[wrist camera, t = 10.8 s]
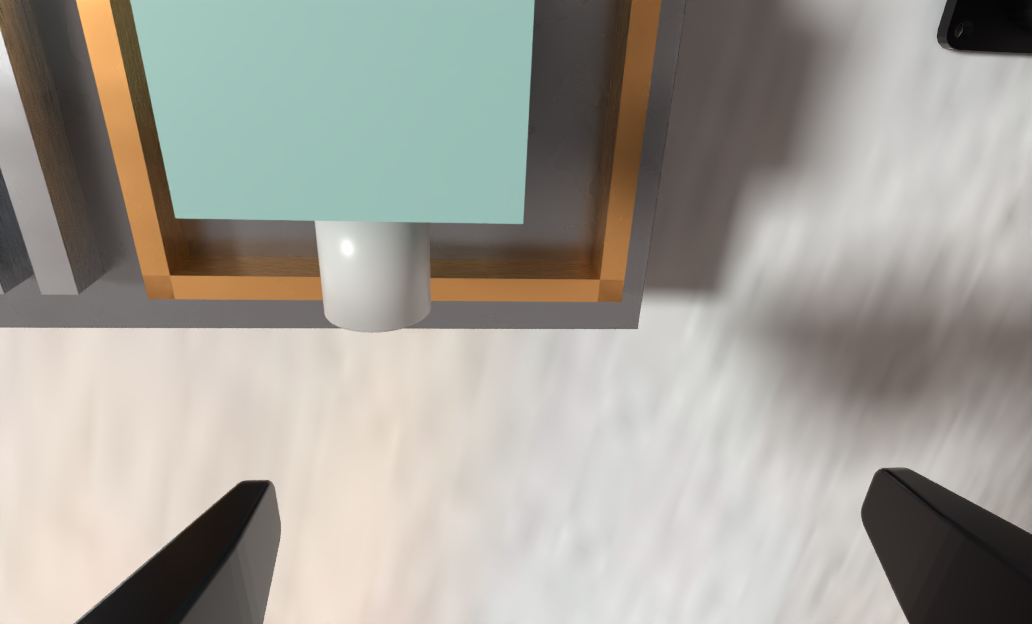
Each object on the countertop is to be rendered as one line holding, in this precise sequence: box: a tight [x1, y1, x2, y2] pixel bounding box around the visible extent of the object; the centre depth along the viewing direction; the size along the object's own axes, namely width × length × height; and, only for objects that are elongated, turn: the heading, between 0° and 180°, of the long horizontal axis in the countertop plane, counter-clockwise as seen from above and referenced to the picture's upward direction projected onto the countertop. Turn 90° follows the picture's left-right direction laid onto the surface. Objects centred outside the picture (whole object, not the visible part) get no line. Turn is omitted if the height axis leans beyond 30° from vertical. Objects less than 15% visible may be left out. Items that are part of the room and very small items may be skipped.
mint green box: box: [130, 0, 535, 332], centre depth 11 cm, size 5×7×6 cm
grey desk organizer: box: [0, 0, 686, 329], centre depth 14 cm, size 18×15×5 cm
